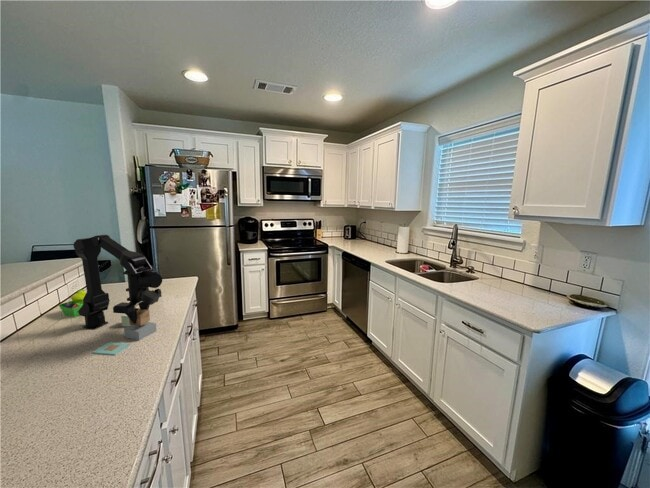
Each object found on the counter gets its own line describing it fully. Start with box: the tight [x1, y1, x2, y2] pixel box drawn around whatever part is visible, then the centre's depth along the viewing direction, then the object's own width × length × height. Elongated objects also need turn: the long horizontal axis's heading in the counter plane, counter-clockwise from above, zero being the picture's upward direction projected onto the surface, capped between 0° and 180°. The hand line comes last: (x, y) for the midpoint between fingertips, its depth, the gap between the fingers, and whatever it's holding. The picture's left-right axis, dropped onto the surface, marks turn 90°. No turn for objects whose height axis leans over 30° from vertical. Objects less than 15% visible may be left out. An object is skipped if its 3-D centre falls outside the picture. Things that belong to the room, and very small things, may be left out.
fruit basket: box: [58, 289, 87, 318], centre depth 130 cm, size 11×9×11 cm
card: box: [92, 341, 131, 356], centre depth 102 cm, size 9×7×1 cm
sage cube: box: [120, 313, 131, 327], centre depth 122 cm, size 5×5×5 cm
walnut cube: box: [129, 308, 151, 326], centre depth 112 cm, size 5×5×5 cm
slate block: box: [123, 321, 158, 341], centre depth 113 cm, size 8×8×4 cm
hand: (139, 320), depth 112 cm, fingers closed on walnut cube, 5 cm apart
